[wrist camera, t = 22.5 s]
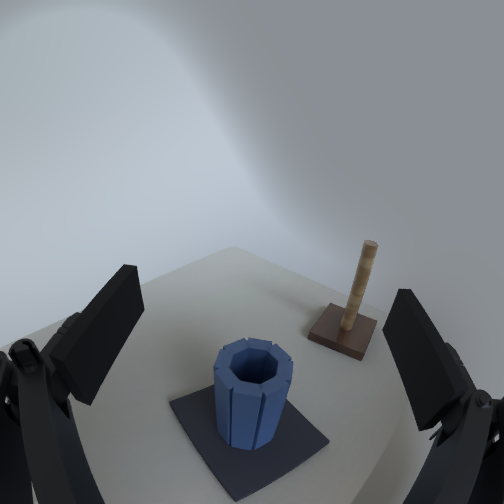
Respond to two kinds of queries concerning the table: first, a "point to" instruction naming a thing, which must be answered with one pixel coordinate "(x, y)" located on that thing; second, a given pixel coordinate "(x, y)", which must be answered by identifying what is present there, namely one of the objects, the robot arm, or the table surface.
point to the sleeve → (250, 391)
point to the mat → (241, 460)
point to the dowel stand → (349, 314)
